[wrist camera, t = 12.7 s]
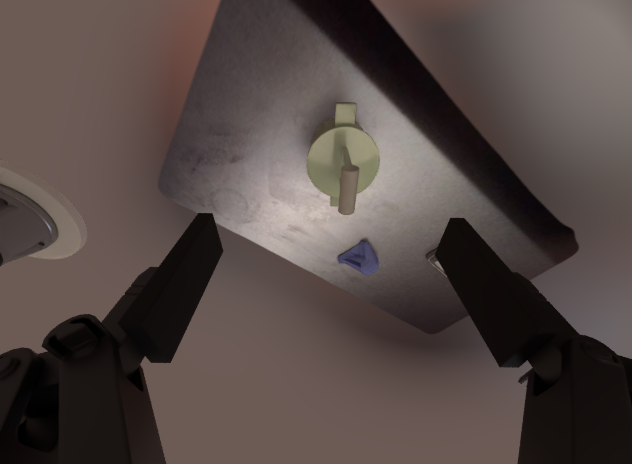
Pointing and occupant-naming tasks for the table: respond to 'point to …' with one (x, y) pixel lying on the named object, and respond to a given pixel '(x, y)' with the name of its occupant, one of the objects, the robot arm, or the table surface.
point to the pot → (342, 118)
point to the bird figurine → (361, 258)
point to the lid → (343, 164)
